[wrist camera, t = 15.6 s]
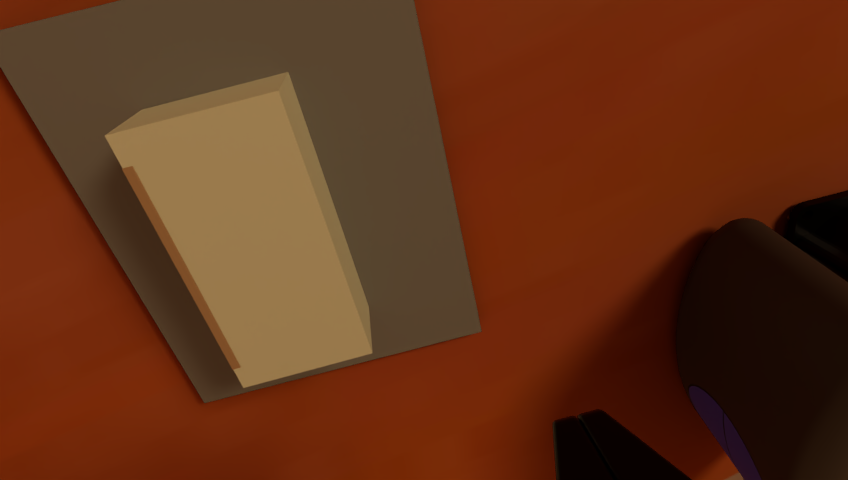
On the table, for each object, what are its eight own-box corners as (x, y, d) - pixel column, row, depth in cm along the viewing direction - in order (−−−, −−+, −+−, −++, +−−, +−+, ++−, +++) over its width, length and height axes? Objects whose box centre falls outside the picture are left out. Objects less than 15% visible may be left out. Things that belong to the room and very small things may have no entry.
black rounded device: (643, 238, 23) (794, 398, 15) (746, 199, 22) (963, 343, 14) (691, 452, 30) (807, 635, 22) (768, 427, 30) (916, 605, 22)
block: (278, 90, 14) (103, 136, 14) (372, 354, 19) (243, 389, 19) (288, 71, 17) (141, 109, 17) (368, 306, 22) (255, 336, 22)
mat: (397, -68, 16) (399, -69, 15) (478, 323, 24) (481, 331, 23) (-7, 32, 16) (-19, 34, 15) (207, 393, 24) (204, 403, 23)
